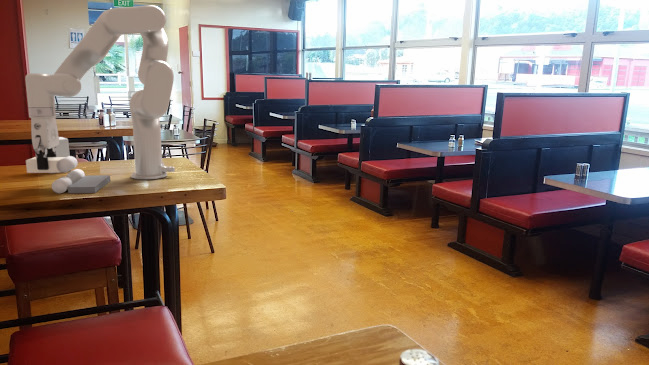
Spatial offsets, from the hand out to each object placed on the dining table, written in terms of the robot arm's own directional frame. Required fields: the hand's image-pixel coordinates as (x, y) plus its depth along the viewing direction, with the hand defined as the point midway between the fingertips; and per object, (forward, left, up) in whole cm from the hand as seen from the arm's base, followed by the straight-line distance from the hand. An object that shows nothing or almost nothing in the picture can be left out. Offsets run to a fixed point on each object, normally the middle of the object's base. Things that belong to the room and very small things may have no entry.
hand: (47, 167), depth 162 cm
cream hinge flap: (-2, 0, -1) cm, 2 cm away
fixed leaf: (-11, 0, -7) cm, 13 cm away
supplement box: (+7, -28, -7) cm, 30 cm away
